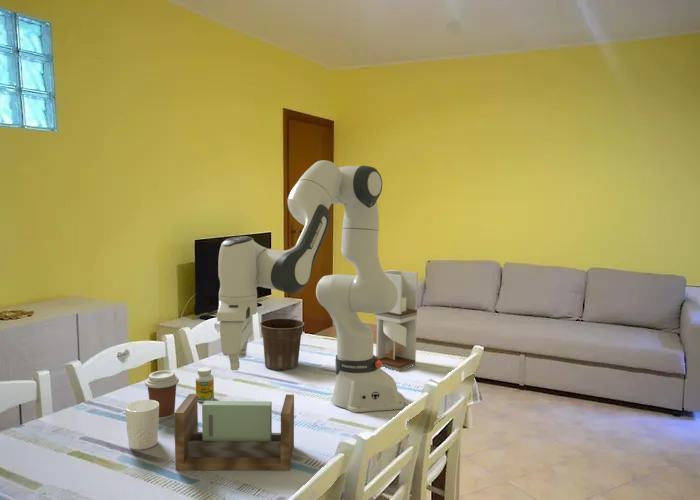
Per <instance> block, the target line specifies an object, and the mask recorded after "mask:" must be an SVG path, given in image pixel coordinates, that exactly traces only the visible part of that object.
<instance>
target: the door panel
mask: <svg viewBox="0 0 700 500" xmlns="http://www.w3.org/2000/svg"><path fill="white" fill-rule="evenodd" d="M272 403H273V402H272V401H270V400H269V401H262V400H261V401H260V400H259V401H253V400H251V401H250V400H249V401H248V400H246V401H245V400H244V401H243V400H241V401H240V400H236V401H235V400H234V401H233V400H212V401H204V402H202V404H201V419H202V421H201V422H202V424H201V425H202V426H201V427H202V428H201V429H202V431H201V432H202V435H203V441H272V433H273V432H272V429H273V428H272V427H273V425H272V422H273V421H272V419H273V418H272V416H273V415H272V408H273V407H272Z"/></svg>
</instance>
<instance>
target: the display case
mask: <svg viewBox="0 0 700 500" xmlns="http://www.w3.org/2000/svg"><path fill="white" fill-rule="evenodd" d="M383 271H384V273H385V274H386V276H387V277H388V278H389V279H390V280H391V281H392V282H393V283H394V284H395V286H396V288H397V291H398V300H397V303H396V305H395V307H394V308H393V309H392V310H391V311H390V312H386V313H376V314H374V319H376V343H375V346H376V349H375V353H376V354H375V356H376V355H377V356H378V358H379V359H380V361H381V362H382V367H381V368H383V367H385V368H384V369H387V368H388V370H391V369H392V370H391V371H394V370H396V371H395V372H398V371H399V372H401V371H400V370H402V371H404V370H406V369H405V368H407V369H409V368H411V367H410V366H412V365H414V366H416V358H417V356H416V355H417V354H416V353H417V351H416V350H417V324H418V322H417V321H418V317H417V316H418V287H419V286H418V282H419V279H418V278H419V273H418V272H413V271H404V270H397V269H390V270H383ZM408 367H409V368H408ZM412 367H413V366H412ZM403 369H404V370H403Z"/></svg>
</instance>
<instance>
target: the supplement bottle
mask: <svg viewBox="0 0 700 500" xmlns="http://www.w3.org/2000/svg"><path fill="white" fill-rule="evenodd" d="M214 381H215V380H214V375H213V374H212V368H211V367H200V368H198V369H197V376H196V377H195V394H197V403H204V401H214V399H215V394H214V393H215V389H214V387H215V382H214Z"/></svg>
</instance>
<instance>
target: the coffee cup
mask: <svg viewBox="0 0 700 500" xmlns="http://www.w3.org/2000/svg"><path fill="white" fill-rule="evenodd" d="M179 382H180V379H179V377H178V376H176V373H175V372H174V371H172V370H157V371H153V372H151V373H150V374H149V375H148V378H146V380H145V381H144V385H145V387H147V393H148V400H154V401H157V402H158V403H159V421H160V420H161V421H162V420H167V419H171V418H173V417H175V416H174V413H175V412H176V396H177V384H179Z"/></svg>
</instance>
